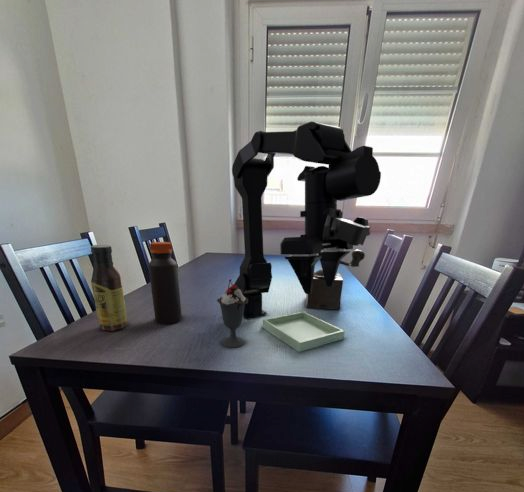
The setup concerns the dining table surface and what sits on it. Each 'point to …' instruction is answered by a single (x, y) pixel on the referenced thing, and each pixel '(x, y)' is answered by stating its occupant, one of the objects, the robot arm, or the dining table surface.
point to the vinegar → (164, 284)
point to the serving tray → (303, 330)
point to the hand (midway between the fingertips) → (319, 289)
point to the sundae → (233, 313)
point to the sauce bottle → (107, 290)
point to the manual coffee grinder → (327, 295)
